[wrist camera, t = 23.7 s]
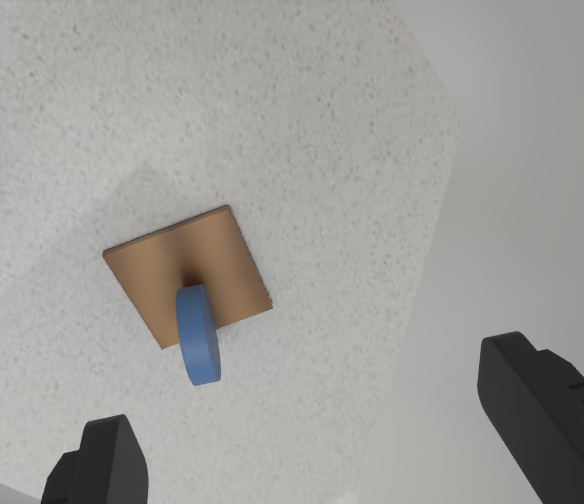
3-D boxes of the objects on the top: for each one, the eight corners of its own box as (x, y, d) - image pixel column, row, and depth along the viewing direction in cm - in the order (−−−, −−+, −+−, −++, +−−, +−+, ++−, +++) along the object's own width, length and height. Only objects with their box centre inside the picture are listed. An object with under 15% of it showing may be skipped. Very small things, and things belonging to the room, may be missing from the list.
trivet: (228, 204, 41) (228, 208, 41) (272, 303, 47) (273, 308, 47) (103, 251, 42) (101, 256, 41) (162, 344, 48) (161, 349, 47)
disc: (206, 281, 46) (196, 286, 38) (223, 368, 46) (217, 392, 38) (184, 286, 46) (170, 291, 38) (201, 373, 46) (190, 397, 38)
